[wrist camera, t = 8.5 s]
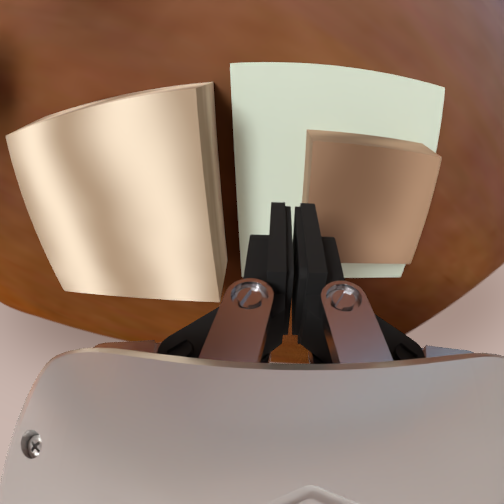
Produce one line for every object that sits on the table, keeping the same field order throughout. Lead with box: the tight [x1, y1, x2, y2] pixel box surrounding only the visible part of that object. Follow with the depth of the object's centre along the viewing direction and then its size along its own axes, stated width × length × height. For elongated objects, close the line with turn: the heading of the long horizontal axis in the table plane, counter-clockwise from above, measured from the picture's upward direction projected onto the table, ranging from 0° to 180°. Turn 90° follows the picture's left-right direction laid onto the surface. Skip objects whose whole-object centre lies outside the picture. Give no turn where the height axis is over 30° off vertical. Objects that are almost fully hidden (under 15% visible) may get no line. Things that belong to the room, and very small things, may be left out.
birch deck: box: [6, 82, 228, 302], centre depth 16 cm, size 12×12×4 cm
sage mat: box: [230, 62, 445, 278], centre depth 16 cm, size 12×14×1 cm
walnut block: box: [302, 129, 442, 264], centre depth 15 cm, size 7×7×2 cm
